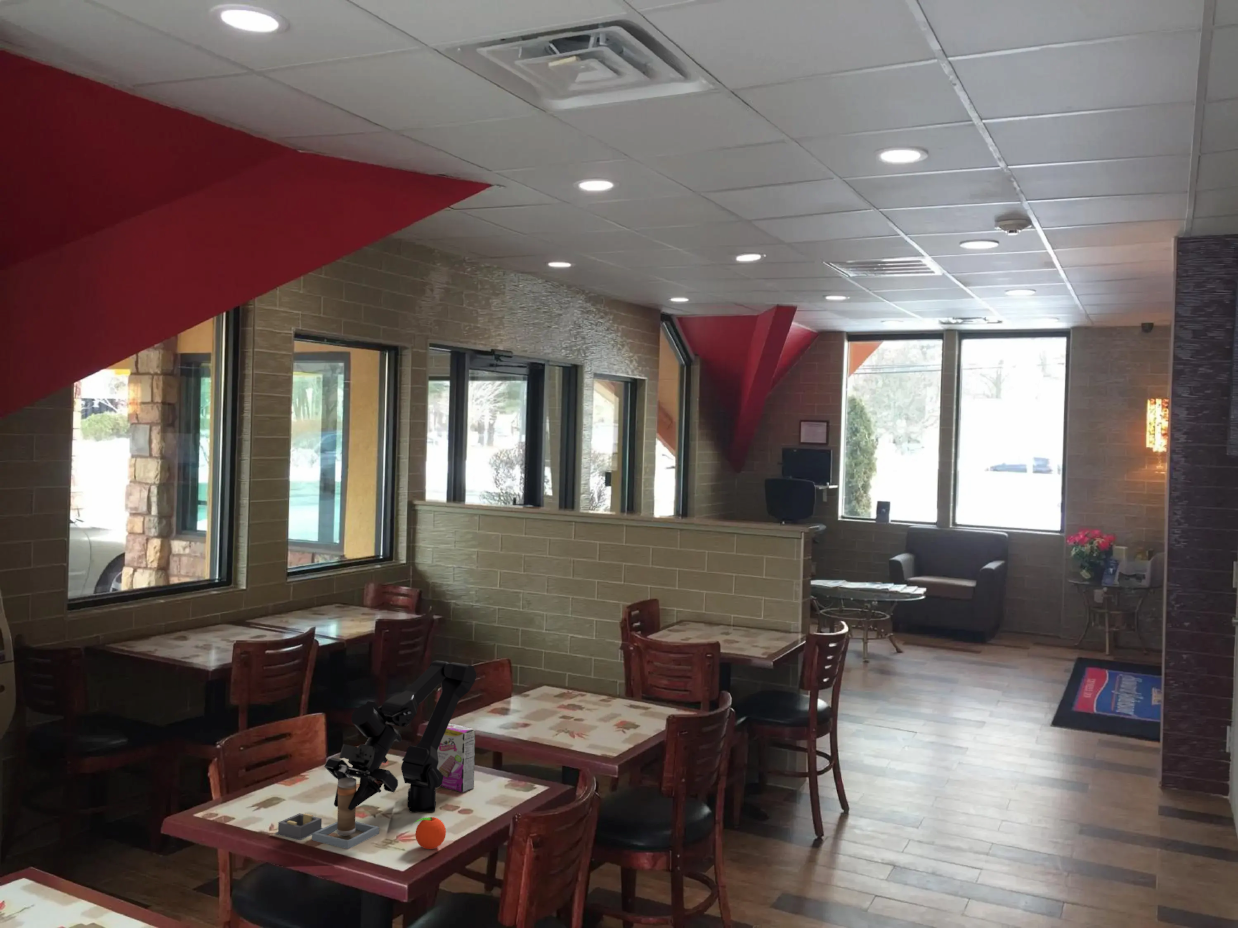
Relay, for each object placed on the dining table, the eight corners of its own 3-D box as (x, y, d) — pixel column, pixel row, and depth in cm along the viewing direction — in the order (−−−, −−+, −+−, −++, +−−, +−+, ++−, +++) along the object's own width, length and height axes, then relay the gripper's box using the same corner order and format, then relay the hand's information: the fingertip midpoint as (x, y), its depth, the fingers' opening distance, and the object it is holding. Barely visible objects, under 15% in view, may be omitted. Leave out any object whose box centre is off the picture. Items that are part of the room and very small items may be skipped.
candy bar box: (431, 785, 274) (432, 724, 274) (443, 780, 279) (445, 721, 278) (462, 793, 268) (464, 731, 268) (474, 788, 273) (476, 727, 272)
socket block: (299, 828, 241) (299, 809, 241) (324, 834, 237) (325, 815, 237) (274, 839, 234) (274, 820, 234) (300, 846, 230) (300, 826, 230)
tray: (343, 830, 240) (343, 818, 240) (378, 839, 235) (379, 826, 235) (311, 846, 230) (312, 833, 230) (348, 855, 226) (348, 841, 226)
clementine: (407, 853, 228) (408, 822, 228) (413, 841, 235) (414, 811, 235) (442, 854, 228) (443, 822, 228) (447, 842, 235) (448, 812, 235)
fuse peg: (353, 827, 236) (354, 776, 236) (357, 833, 232) (358, 781, 232) (335, 830, 234) (336, 778, 234) (338, 836, 230) (339, 784, 230)
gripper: (330, 723, 241) (294, 782, 231) (390, 735, 232) (355, 797, 222) (353, 748, 248) (319, 806, 238) (412, 761, 239) (379, 822, 229)
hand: (342, 807), depth 232 cm, fingers closed on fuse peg, 4 cm apart
